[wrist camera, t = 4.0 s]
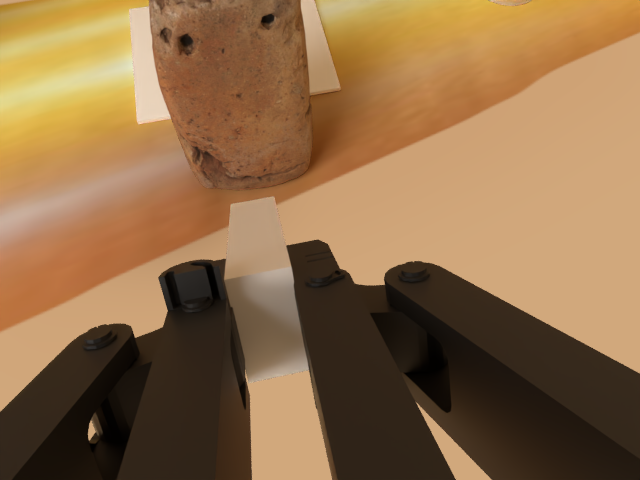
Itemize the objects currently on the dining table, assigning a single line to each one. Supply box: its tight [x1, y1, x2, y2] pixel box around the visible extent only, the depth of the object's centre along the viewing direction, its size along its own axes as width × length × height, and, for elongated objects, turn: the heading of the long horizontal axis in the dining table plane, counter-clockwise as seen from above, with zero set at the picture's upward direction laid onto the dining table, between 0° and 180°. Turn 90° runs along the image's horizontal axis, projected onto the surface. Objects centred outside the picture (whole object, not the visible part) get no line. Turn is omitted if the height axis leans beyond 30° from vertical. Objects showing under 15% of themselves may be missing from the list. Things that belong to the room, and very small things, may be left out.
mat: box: [129, 0, 341, 124], centre depth 52 cm, size 20×16×1 cm
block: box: [149, 0, 313, 190], centre depth 37 cm, size 11×8×20 cm
